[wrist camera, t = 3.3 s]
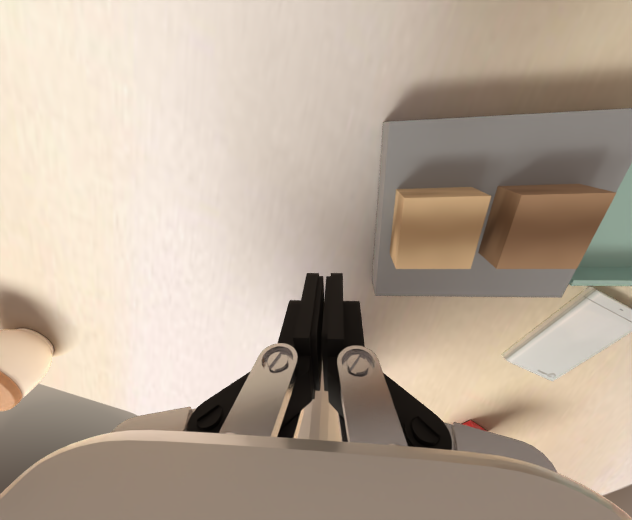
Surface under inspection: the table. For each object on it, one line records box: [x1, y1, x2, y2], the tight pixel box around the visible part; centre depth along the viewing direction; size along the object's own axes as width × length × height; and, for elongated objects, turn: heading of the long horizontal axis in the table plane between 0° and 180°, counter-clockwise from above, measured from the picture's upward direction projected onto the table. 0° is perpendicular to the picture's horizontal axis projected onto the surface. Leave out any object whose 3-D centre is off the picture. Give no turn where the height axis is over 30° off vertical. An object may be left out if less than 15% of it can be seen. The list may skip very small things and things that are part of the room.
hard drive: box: [502, 286, 632, 381], centre depth 30 cm, size 2×8×12 cm
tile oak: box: [390, 187, 491, 269], centre depth 21 cm, size 6×6×3 cm
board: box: [372, 108, 632, 297], centre depth 23 cm, size 16×18×3 cm
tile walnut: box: [478, 184, 616, 269], centre depth 20 cm, size 6×6×3 cm
